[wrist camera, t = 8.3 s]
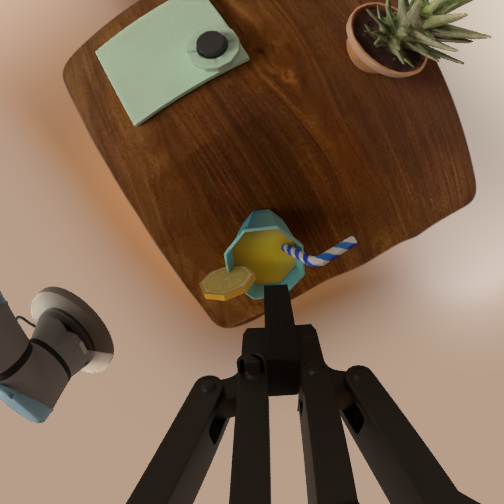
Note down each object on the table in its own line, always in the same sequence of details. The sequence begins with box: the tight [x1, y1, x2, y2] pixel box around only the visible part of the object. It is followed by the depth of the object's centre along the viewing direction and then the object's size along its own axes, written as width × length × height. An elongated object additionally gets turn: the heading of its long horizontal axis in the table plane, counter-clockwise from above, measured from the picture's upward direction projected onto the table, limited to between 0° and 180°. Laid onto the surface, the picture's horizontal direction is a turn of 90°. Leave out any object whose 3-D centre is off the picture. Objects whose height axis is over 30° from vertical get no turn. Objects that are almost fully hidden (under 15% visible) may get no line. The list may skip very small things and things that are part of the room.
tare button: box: [196, 31, 226, 58], centre depth 23 cm, size 3×3×2 cm
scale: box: [95, 0, 250, 126], centre depth 24 cm, size 16×14×3 cm
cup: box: [199, 209, 357, 301], centre depth 28 cm, size 14×8×15 cm, turn 120°
